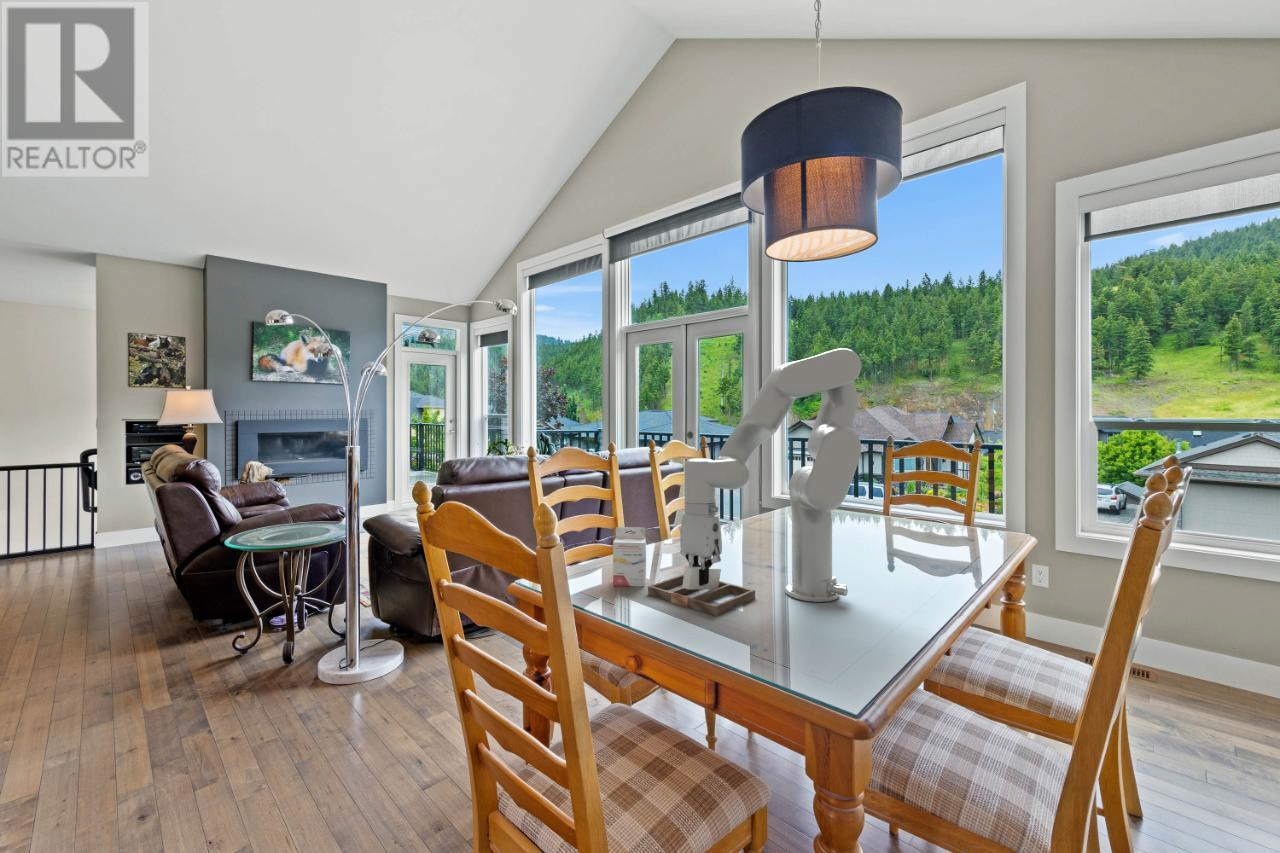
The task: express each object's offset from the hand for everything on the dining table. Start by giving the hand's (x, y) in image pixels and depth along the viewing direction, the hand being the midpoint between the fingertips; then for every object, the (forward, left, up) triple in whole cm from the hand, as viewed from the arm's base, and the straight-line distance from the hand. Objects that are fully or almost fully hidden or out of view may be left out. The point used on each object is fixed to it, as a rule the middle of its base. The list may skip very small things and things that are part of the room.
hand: (699, 582), depth 135 cm
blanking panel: (0, 0, -1) cm, 1 cm away
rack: (0, 0, -3) cm, 3 cm away
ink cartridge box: (+20, +5, -4) cm, 21 cm away
